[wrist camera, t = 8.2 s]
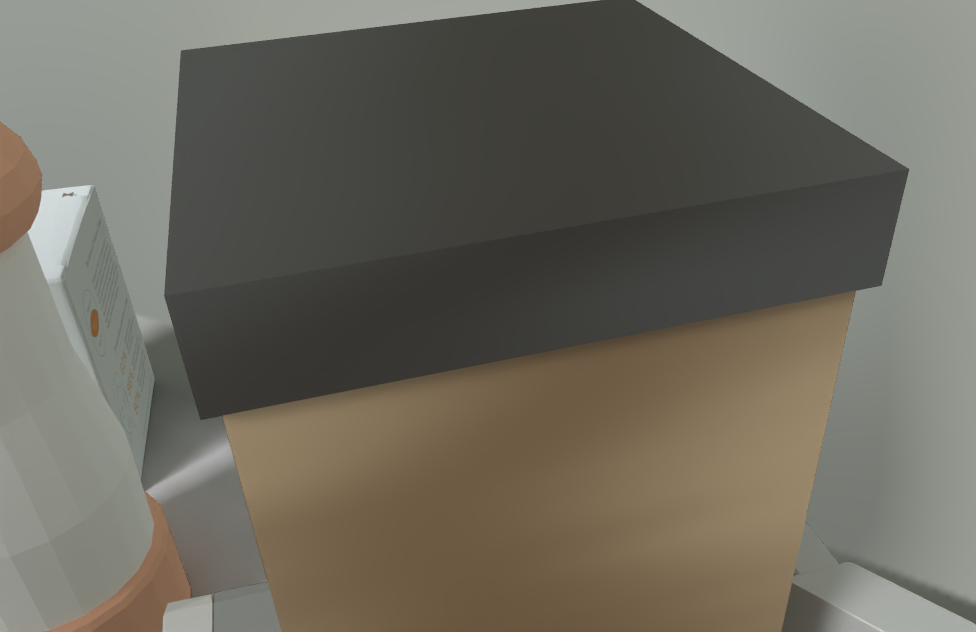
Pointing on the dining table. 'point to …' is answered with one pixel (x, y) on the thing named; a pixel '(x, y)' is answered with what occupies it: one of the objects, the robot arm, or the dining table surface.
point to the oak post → (518, 317)
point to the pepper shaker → (65, 460)
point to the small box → (95, 305)
